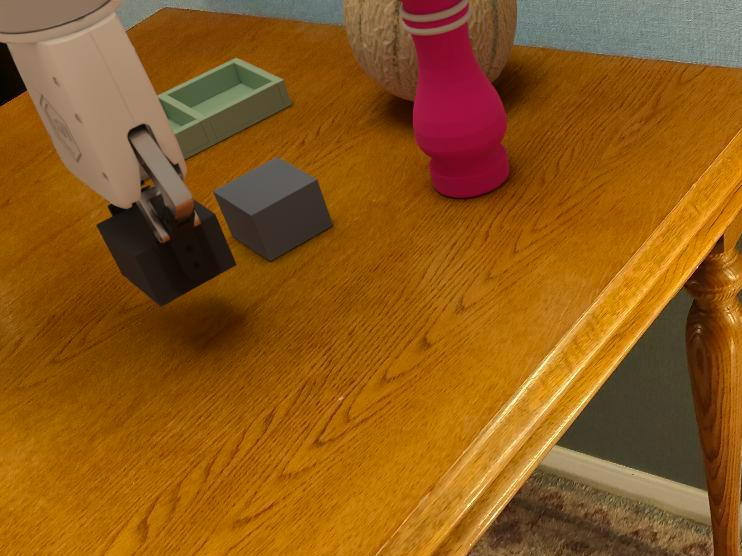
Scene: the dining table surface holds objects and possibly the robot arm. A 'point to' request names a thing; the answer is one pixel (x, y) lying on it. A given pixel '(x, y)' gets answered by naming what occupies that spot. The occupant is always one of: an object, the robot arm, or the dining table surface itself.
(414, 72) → the cantaloupe
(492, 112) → the pepper mill
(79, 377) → the dining table surface
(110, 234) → the dark grey block
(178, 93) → the holder
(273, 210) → the grey square block
